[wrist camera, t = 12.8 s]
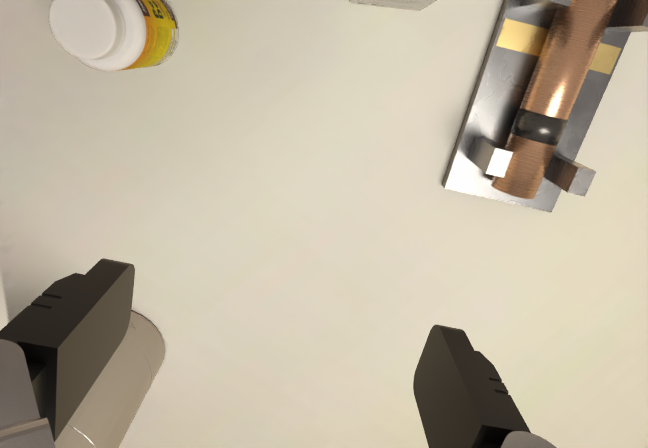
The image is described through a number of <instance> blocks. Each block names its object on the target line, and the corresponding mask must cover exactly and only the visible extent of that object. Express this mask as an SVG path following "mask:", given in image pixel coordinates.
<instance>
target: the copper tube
mask: <svg viewBox="0 0 648 448" xmlns="http://www.w3.org/2000/svg"><path fill="white" fill-rule="evenodd" d="M617 1H618V0H572V2H571V4H570V7H563V8H557V11H556V14H555V16H554V19H553V22H552V24H551V27H550V30H549V32H548V35H547V37H546V40H545V43H544V45H543V48H542V51H541V53H540V56H539V58H538V61H537V64H536V66H535V69H534V72H533V74H532V77H531V80H530V82H529V85H528V87H527V90H526V93H525V95H524V98H523V101H522V103H521V106H520V108H519V109H518V112H517V115H516V117H515V120H514V122H513V125H512V128H511V130H510V135H509V137H508V140H507V143H506V145H505V148H507V149H509V150H510V151H512V152H513V154H512V157H511V159H510V162H509V165H508V167H507V170H506V172H505V175H504V178H503V177H498V176H494V177H493V180H492V182H491V186H492V187H493V188H495V189H497V190H499V191H501V192H504V193H506V194H509V195H512V196H515V197H519V198H524V199H534V198H535V196H536V193H537V191H538V188H539V186H540V184H541V181H542V179H543V177H544V174H545V172H546V169H547V167H548V165H549V162H550V160H551V158H552V155H553V153H554V151H555V148H556V146H557V145H558V143H559V140H560V138H561V136H562V133H563V131H564V129H565V126H566V124H567V122H568V117H569V115H570V113H571V110H572V108H573V105H574V103H575V101H576V98H577V96H578V94H579V91H580V89H581V87H582V84H583V82H584V79H585V77H586V75H587V72H588V70H589V68H590V65H591V63H592V60H593V58H594V56H595V53H596V51H597V49H598V46H599V44H600V41H601V39H602V37H603V34H604V32H605V30H606V27H607V25H608V23H609V20H610V18H611V15H612V13H613V11H614V8H615V6H616V4H617Z"/></svg>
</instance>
